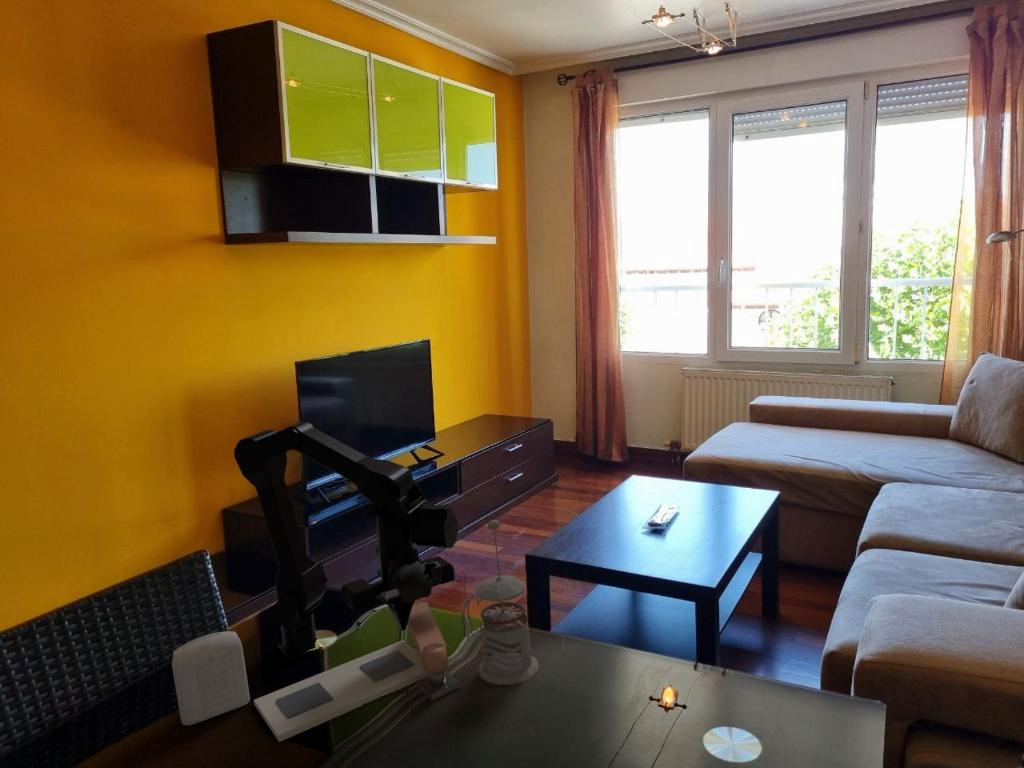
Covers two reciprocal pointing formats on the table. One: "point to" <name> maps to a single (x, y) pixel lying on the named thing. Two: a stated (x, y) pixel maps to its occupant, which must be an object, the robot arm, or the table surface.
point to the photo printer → (210, 676)
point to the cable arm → (427, 639)
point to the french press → (503, 629)
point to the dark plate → (438, 684)
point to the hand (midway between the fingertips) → (402, 629)
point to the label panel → (340, 690)
